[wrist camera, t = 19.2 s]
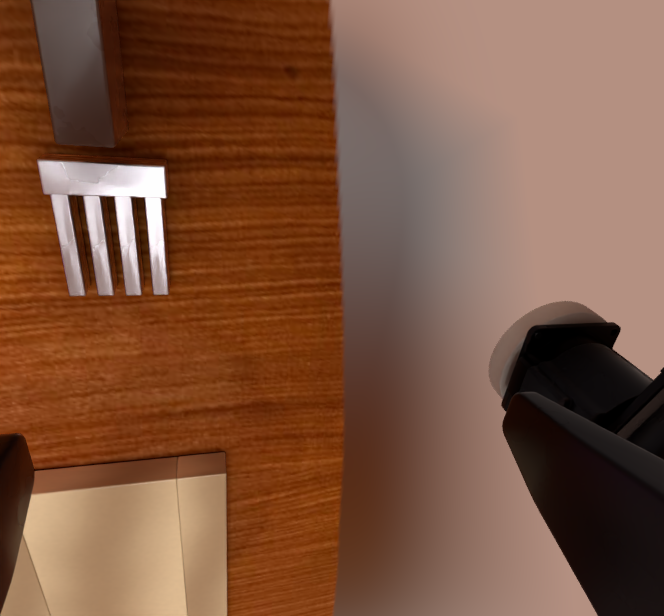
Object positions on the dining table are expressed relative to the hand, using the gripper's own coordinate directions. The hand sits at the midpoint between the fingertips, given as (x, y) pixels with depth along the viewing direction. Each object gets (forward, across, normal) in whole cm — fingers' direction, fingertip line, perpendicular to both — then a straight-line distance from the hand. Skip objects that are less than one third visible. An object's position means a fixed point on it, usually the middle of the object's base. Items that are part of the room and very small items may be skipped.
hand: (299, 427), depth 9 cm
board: (+12, +7, +25) cm, 29 cm away
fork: (+12, +5, -5) cm, 14 cm away
